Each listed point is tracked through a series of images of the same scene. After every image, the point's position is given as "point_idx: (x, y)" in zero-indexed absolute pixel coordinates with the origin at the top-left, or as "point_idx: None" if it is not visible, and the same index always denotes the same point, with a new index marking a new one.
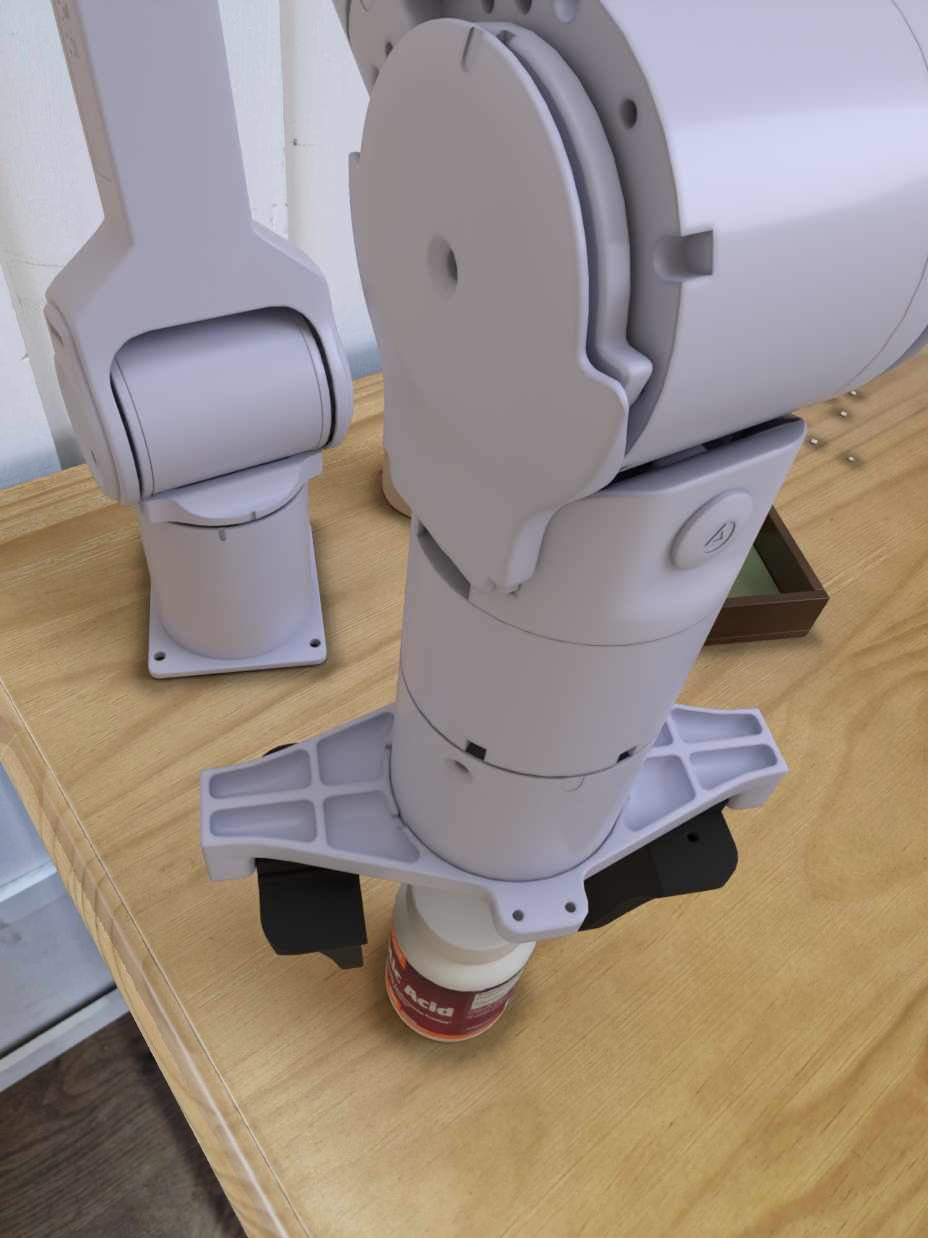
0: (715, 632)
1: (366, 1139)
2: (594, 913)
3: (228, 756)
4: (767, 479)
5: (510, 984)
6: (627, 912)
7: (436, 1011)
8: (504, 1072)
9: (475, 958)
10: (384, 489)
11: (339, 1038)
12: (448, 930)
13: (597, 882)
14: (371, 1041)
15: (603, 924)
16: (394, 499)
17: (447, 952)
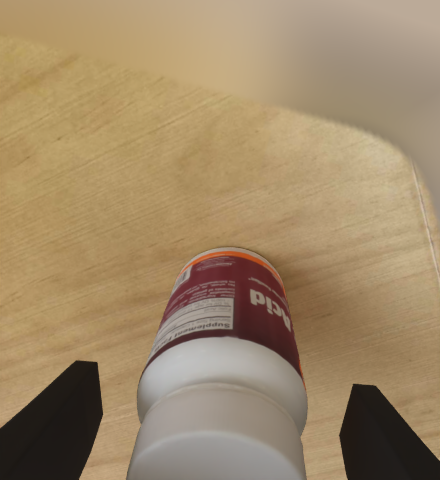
0: None
1: (334, 194)
2: (61, 416)
3: None
4: None
5: (187, 319)
6: (8, 422)
7: (264, 298)
8: (201, 214)
9: (237, 407)
10: None
11: (332, 271)
12: (272, 465)
13: (41, 473)
14: (307, 263)
15: (57, 384)
16: None
17: (273, 421)
